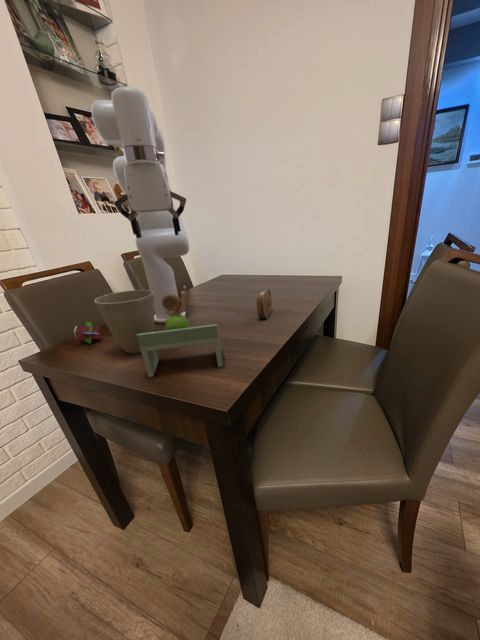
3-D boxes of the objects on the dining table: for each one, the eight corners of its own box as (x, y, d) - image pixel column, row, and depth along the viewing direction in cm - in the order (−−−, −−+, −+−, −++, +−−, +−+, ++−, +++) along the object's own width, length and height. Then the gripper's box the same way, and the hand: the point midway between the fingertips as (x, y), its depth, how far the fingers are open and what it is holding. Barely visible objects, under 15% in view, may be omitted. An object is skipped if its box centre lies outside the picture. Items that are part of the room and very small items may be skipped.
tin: (265, 321, 98) (263, 297, 95) (256, 321, 99) (254, 298, 95) (272, 308, 111) (271, 287, 108) (264, 308, 112) (263, 287, 108)
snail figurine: (191, 338, 67) (182, 288, 62) (165, 340, 67) (153, 290, 62) (196, 330, 72) (188, 283, 67) (171, 331, 72) (161, 285, 67)
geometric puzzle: (100, 328, 96) (79, 314, 90) (110, 331, 92) (89, 317, 86) (87, 345, 94) (65, 333, 88) (97, 349, 90) (74, 336, 84)
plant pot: (160, 355, 78) (146, 299, 71) (104, 362, 76) (85, 306, 70) (167, 335, 92) (157, 287, 85) (120, 341, 90) (105, 292, 83)
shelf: (154, 360, 76) (144, 322, 71) (220, 351, 78) (215, 314, 73) (148, 377, 68) (136, 335, 63) (222, 366, 70) (217, 325, 65)
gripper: (180, 160, 71) (192, 233, 78) (108, 163, 68) (127, 238, 76) (178, 153, 64) (191, 234, 72) (98, 156, 62) (119, 239, 69)
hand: (158, 236), depth 74 cm, fingers open, 9 cm apart
